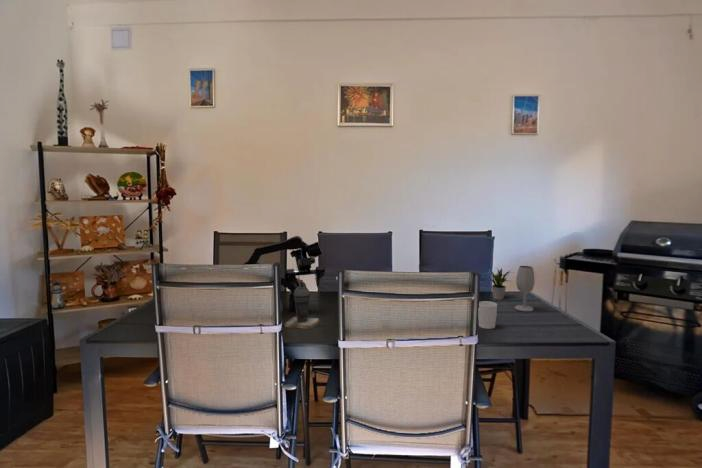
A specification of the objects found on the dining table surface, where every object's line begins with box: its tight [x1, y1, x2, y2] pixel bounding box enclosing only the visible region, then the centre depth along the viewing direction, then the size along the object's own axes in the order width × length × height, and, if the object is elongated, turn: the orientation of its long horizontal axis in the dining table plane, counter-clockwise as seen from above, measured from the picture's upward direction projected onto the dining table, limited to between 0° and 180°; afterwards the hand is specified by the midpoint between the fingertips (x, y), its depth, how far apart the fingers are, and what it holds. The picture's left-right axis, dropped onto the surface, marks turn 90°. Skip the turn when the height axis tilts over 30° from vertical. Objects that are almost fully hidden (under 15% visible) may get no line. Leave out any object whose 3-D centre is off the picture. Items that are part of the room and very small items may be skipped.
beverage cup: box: [293, 275, 311, 322], centre depth 194 cm, size 7×7×20 cm
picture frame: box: [284, 316, 320, 330], centre depth 195 cm, size 12×10×2 cm
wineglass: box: [514, 265, 536, 313], centre depth 213 cm, size 9×9×21 cm
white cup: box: [477, 300, 498, 330], centre depth 190 cm, size 8×8×10 cm
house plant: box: [488, 267, 515, 300], centre depth 233 cm, size 14×14×16 cm
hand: (308, 288), depth 203 cm, fingers open, 9 cm apart
